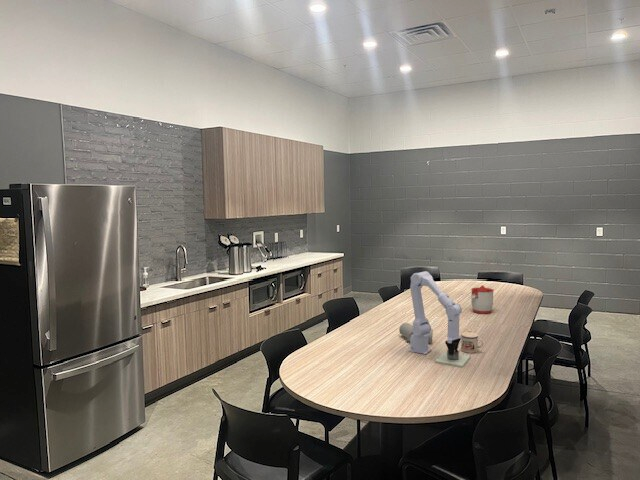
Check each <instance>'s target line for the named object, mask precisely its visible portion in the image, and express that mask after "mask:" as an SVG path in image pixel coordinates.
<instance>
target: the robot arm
mask: <svg viewBox="0 0 640 480" xmlns="http://www.w3.org/2000/svg"><path fill="white" fill-rule="evenodd" d="M409 286H410V287H409V289H410V293H411V294H410V295H411V301H412V306H413V314H414V320H413V321H412V326H413V328H412V331H413V334H412V335H411V338H410V342H409V344H410V345H409V352H412V353H417V354H424V355H427V354H428V353H429V352H430V351H431V349H430V348H429V343H428V335H429V333H430V331H431V329H432V326H431V324H430V321H429V319H428V318H427V317H426V313H425V307H424V301H423V295H422V288H423V287H428V289H430V290H431V292H432V293H434V295H435V296H437V301H438V302H439V303H440V304H441V306H442V307H443V308H444V309H445V313H446V315H447V336H446V338H447V339H446V340H445V342H444V343H445V345H446V348H447V350H448V352H449V355H454V350H455V349H456V350H458V349H459V344H460V343H461V335H460V314H461V313H462V312H463V311H462V310H463V308H462V307H461V305H460V304H459V303H456V302H455V301H454V300H453V299H452V298H451V297H450V294H447V292H443V291H442V289H441V288H440V286H438V284H437V283H436V281H435V280H434V278H433V276H432V274H430V273H429V271H425V270H424V271H421V272H415V273H413V274H412V275H411V276H410V285H409Z"/></svg>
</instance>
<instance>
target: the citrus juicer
mask: <svg viewBox="0 0 640 480" xmlns="http://www.w3.org/2000/svg"><path fill="white" fill-rule="evenodd" d="M470 290H471V295H470V298H471V299H470V300H471V301H470V302H471V308H472V311H473V312H474V313H476V314H481V315H483V314H484V315H487V314H490V313H491V312H492V309H493V306H494V289H493V288H490V287H489V288H488V287H485V286H484V285H481V286H480V287H472V288H470Z"/></svg>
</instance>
